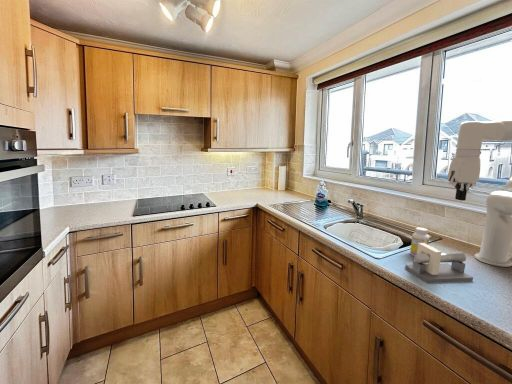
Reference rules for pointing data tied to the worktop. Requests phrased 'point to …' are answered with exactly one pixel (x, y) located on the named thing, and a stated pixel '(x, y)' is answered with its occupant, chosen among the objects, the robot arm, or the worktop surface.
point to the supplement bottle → (419, 239)
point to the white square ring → (434, 257)
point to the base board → (441, 275)
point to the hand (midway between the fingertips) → (460, 199)
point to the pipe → (455, 258)
